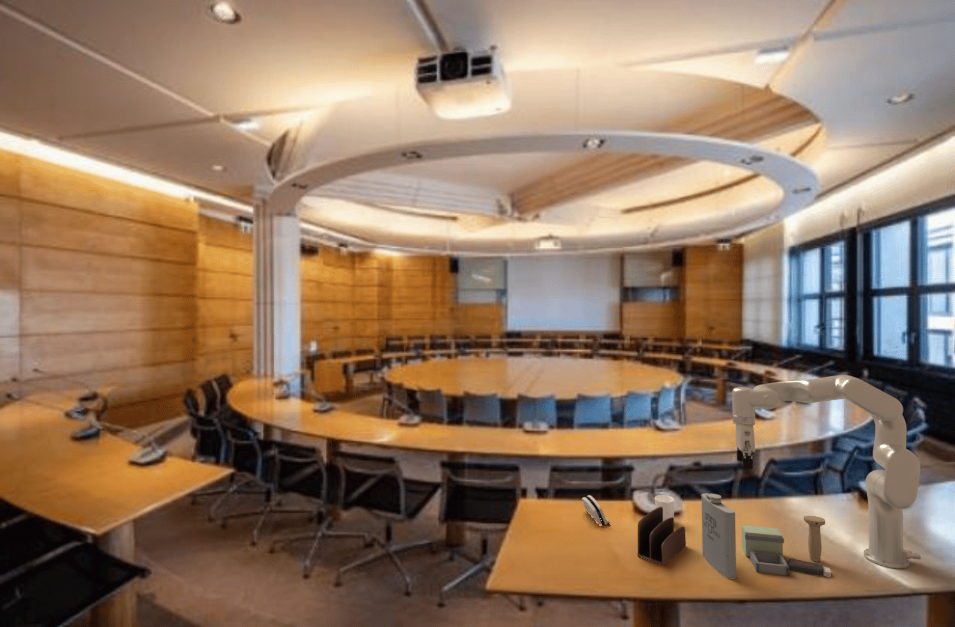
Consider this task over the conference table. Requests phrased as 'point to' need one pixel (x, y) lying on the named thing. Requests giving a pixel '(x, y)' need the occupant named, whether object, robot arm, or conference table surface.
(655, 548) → the letter holder
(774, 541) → the green box on stand
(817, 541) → the handle
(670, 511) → the white cup
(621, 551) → the conference table surface
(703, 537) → the flask
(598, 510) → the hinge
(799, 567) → the usb drive
